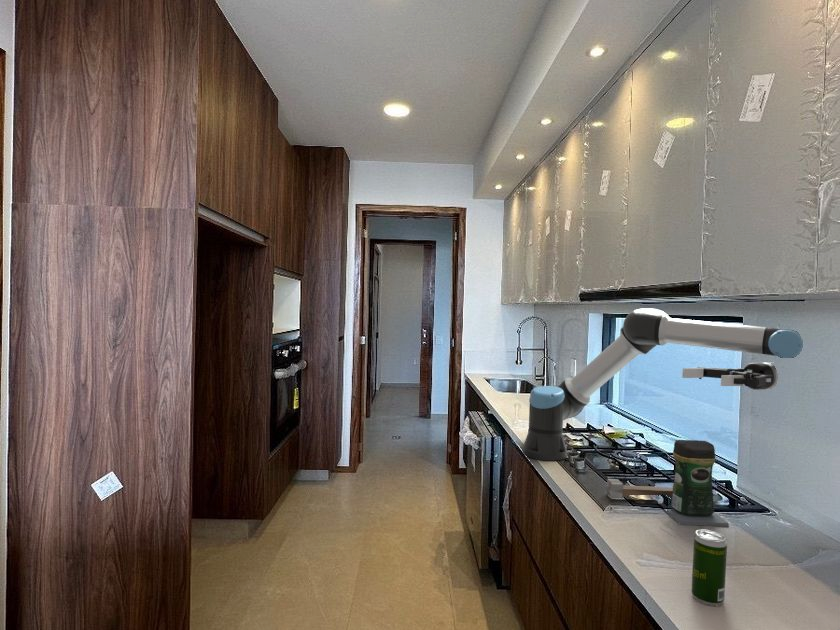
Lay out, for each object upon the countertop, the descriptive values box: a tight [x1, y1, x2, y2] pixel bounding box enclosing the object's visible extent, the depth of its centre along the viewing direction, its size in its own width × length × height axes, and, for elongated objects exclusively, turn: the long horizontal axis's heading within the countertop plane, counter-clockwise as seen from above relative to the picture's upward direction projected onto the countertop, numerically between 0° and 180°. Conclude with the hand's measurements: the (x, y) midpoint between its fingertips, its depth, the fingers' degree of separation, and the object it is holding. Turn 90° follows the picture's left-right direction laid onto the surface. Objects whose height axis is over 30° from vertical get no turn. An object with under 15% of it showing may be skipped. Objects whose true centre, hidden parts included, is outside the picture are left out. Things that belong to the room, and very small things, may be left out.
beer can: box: [690, 529, 728, 607], centre depth 99 cm, size 5×5×12 cm
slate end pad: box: [666, 509, 730, 527], centre depth 139 cm, size 13×12×1 cm
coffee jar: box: [671, 439, 716, 516], centre depth 139 cm, size 10×8×19 cm
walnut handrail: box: [606, 478, 673, 498], centre depth 149 cm, size 4×24×4 cm, turn 88°
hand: (701, 376), depth 145 cm, fingers open, 13 cm apart
